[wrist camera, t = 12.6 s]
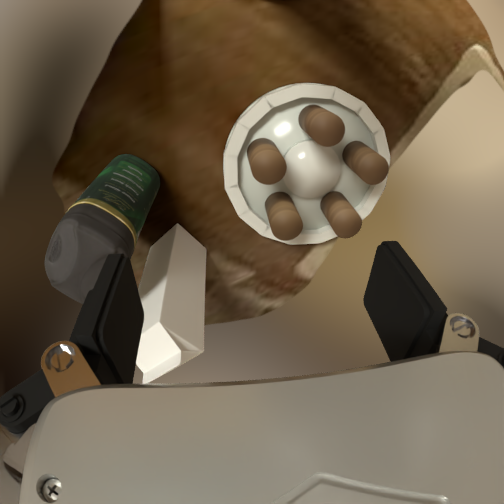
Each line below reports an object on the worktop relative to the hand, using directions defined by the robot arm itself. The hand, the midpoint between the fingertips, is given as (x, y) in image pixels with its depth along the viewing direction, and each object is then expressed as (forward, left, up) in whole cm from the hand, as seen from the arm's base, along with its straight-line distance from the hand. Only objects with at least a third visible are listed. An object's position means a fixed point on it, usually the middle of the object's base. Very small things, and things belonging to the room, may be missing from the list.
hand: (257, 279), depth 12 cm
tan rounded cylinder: (0, +10, -29) cm, 31 cm away
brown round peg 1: (+11, +14, -29) cm, 34 cm away
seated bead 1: (+11, +6, -29) cm, 32 cm away
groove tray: (+6, +10, -30) cm, 32 cm away
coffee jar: (+8, -14, -31) cm, 34 cm away
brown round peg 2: (+4, +16, -29) cm, 34 cm away
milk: (+18, -8, -31) cm, 36 cm away
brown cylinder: (+4, +4, -29) cm, 30 cm away
